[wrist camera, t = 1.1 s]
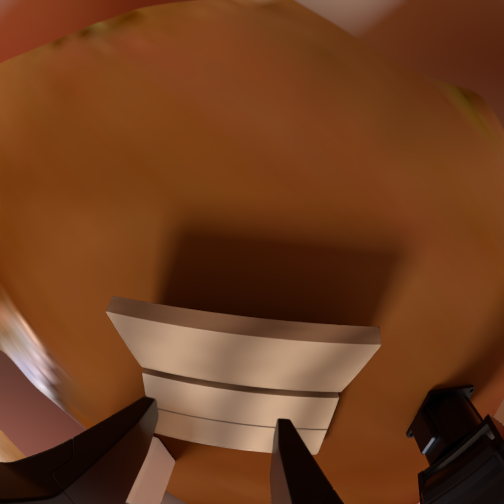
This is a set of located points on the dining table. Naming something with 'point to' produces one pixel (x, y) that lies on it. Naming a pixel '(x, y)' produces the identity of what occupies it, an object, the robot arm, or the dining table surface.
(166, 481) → the jar
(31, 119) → the dining table surface
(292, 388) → the plank
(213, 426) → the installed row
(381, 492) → the dining table surface
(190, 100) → the dining table surface
